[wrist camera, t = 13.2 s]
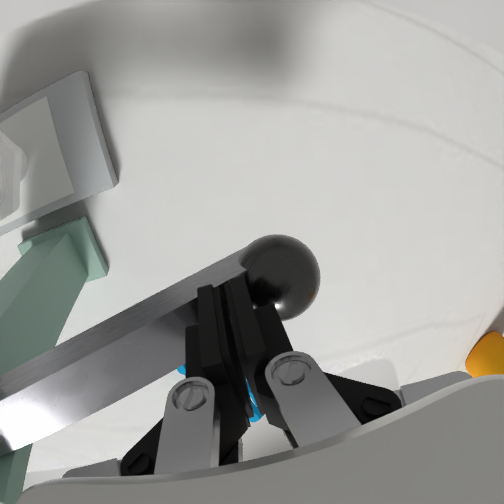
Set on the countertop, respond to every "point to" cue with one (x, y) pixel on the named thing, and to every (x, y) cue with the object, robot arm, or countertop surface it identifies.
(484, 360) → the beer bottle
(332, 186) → the countertop surface
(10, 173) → the pipe fitting
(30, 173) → the press
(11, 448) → the lever
